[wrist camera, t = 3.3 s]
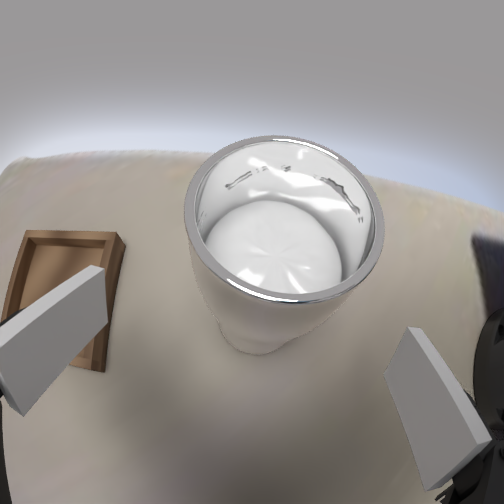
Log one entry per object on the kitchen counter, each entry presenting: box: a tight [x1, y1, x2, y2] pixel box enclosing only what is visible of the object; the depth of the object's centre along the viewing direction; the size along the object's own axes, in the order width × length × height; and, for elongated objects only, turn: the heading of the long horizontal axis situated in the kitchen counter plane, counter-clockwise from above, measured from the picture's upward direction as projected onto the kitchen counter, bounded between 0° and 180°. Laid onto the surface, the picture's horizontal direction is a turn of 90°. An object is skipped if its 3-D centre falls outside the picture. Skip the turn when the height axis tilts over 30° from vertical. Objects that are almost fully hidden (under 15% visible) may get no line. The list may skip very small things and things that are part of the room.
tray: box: [0, 230, 125, 372], centre depth 20 cm, size 12×12×2 cm
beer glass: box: [184, 135, 385, 355], centre depth 15 cm, size 7×7×15 cm
